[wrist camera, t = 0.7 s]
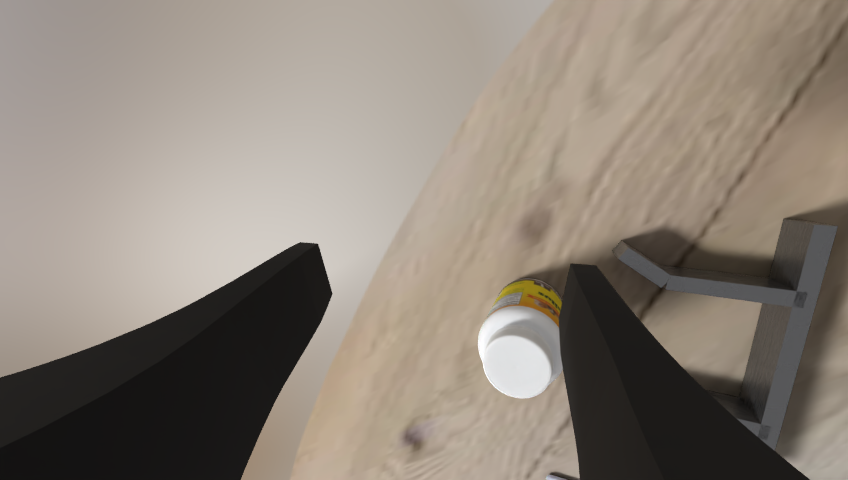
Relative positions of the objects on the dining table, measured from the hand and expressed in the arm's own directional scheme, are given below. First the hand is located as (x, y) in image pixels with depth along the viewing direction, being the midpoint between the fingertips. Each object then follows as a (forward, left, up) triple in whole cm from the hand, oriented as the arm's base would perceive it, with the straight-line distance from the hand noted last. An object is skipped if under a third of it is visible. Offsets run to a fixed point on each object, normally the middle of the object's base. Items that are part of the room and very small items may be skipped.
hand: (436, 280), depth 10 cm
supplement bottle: (-8, -2, -20) cm, 22 cm away
